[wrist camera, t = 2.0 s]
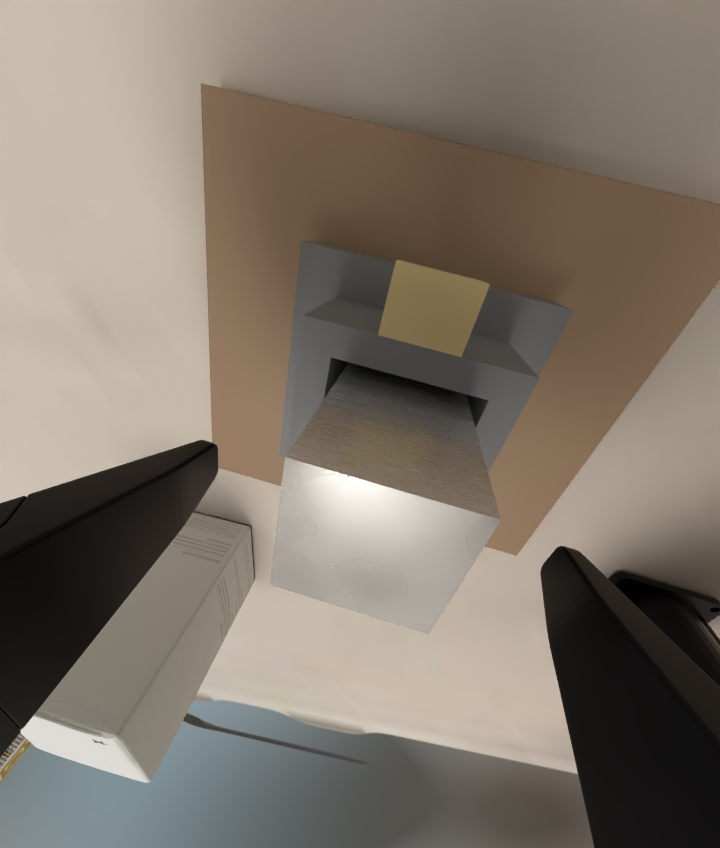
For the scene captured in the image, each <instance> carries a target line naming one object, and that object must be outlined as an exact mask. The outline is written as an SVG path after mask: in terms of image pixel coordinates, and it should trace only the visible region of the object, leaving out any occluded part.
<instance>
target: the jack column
mask: <svg viewBox="0 0 720 848" xmlns="http://www.w3.org/2000/svg"><path fill="white" fill-rule="evenodd" d="M500 521H501V517H500V513H499V510H498V506H497V503H496V499H495V496H494V492H493V488H492V485H491V481H490V478H489V474H488V471H487V467H486V463H485V460H484V456H483V453H482V449H481V446H480V442H479V438H478V435H477V431H476V428H475V424H474V421H473V417H472V413H471V410H470V406H469V403H468V399H467V396H466V394H463V393H460V392H456V391H452V390H449V389H445V388H441V387H438V386H434V385H430V384H427V383H423V382H419V381H416V380H412V379H408V378H405V377H401V376H397V375H394V374H390V373H386V372H383V371H379V370H375V369H372V368H368V367H364V366H361V365H357V364H353V363H350V362H349V363H348V364H347V366H346V367H345V369H344V370H343V372H342V373H341V375H340V376H339V378H338V379H337V381H336V382H335V384H334V385H333V387H332V388H331V389H330V391H329V392H328V394H327V395H326V397H325V398H324V400H323V401H322V403H321V404H320V406H319V407H318V409H317V410H316V412H315V413H314V415H313V416H312V418H311V419H310V421H309V422H308V424H307V425H306V427H305V428H304V430H303V431H302V433H301V434H300V436H299V437H298V438H297V440H296V441H295V443H294V444H293V446H292V447H291V449H290V450H289V452H288V453H287V455H286V456H285V461H284V470H283V478H282V487H281V496H280V504H279V513H278V522H277V530H276V539H275V548H274V556H273V565H272V574H271V583H270V585H273V586H276V587H279V588H282V589H285V590H289V591H292V592H295V593H298V594H302V595H305V596H308V597H311V598H314V599H318V600H321V601H324V602H327V603H330V604H334V605H337V606H340V607H343V608H346V609H350V610H353V611H356V612H359V613H362V614H366V615H369V616H372V617H375V618H379V619H382V620H385V621H388V622H391V623H395V624H398V625H401V626H404V627H407V628H411V629H414V630H417V631H420V632H423V633H427V634H429V633H430V631H431V629H432V628H433V626H434V625H435V623H436V622H437V620H438V618H439V617H440V615H441V614H442V612H443V611H444V609H445V607H446V606H447V604H448V603H449V601H450V600H451V598H452V597H453V595H454V593H455V592H456V590H457V589H458V587H459V586H460V584H461V582H462V581H463V579H464V578H465V576H466V575H467V573H468V571H469V570H470V568H471V567H472V565H473V564H474V562H475V560H476V559H477V557H478V556H479V554H480V553H481V551H482V550H483V548H484V546H485V545H486V543H487V542H488V540H489V539H490V537H491V535H492V534H493V532H494V531H495V529H496V528H497V526H498V524H499V523H500Z"/></svg>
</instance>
